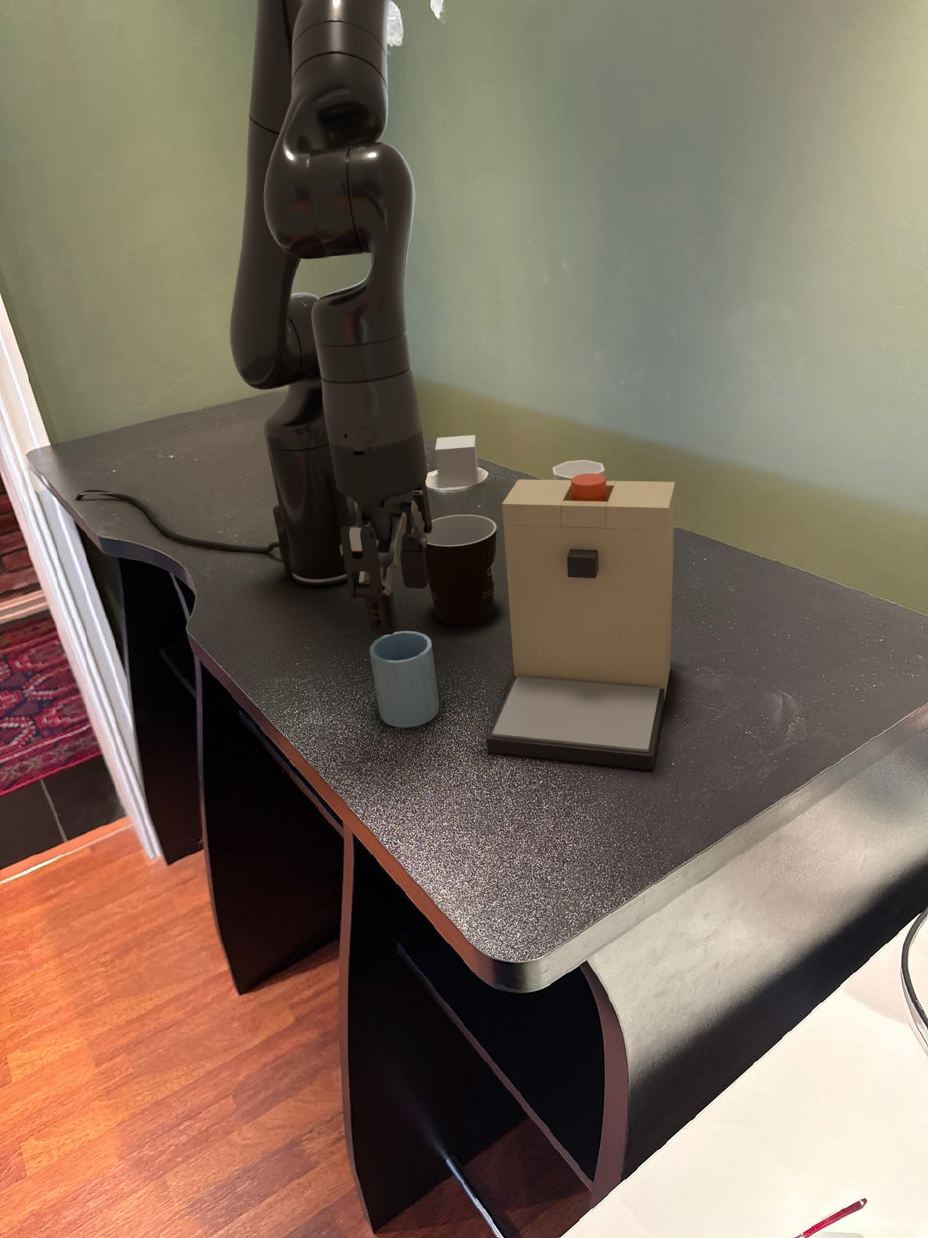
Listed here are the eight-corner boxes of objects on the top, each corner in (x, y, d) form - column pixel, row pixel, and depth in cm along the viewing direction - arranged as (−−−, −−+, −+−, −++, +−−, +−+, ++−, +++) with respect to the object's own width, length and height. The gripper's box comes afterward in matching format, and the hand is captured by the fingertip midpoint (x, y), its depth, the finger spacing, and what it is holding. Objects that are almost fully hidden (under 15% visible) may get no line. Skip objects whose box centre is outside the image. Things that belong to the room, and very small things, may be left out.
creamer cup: (371, 724, 82) (360, 660, 78) (392, 691, 86) (383, 629, 83) (428, 730, 80) (419, 664, 77) (446, 696, 85) (439, 633, 81)
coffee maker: (487, 752, 76) (468, 552, 67) (529, 657, 90) (518, 479, 81) (652, 770, 72) (655, 560, 63) (670, 668, 86) (675, 481, 76)
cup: (616, 528, 116) (616, 470, 112) (548, 546, 113) (545, 486, 109) (590, 512, 122) (589, 455, 118) (524, 527, 119) (521, 470, 115)
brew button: (568, 509, 76) (568, 484, 75) (575, 496, 78) (574, 472, 77) (603, 510, 75) (603, 485, 74) (609, 497, 77) (608, 473, 76)
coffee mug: (477, 636, 94) (469, 551, 89) (411, 621, 98) (400, 539, 94) (529, 590, 103) (524, 510, 98) (466, 578, 107) (458, 501, 102)
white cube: (441, 474, 142) (437, 437, 139) (478, 471, 141) (475, 434, 138) (438, 487, 136) (434, 449, 133) (477, 484, 136) (474, 446, 133)
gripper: (364, 405, 77) (389, 572, 85) (293, 458, 66) (330, 647, 73) (445, 403, 75) (464, 575, 83) (387, 457, 63) (415, 652, 71)
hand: (401, 608), depth 78 cm, fingers open, 8 cm apart
